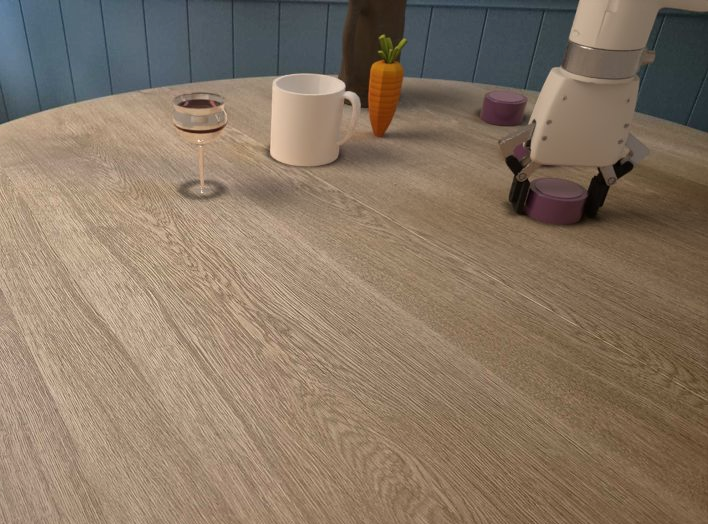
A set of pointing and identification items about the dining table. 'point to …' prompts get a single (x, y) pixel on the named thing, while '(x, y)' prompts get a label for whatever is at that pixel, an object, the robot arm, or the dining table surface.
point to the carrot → (385, 86)
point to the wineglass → (200, 122)
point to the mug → (309, 118)
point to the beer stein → (368, 41)
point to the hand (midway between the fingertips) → (552, 208)
